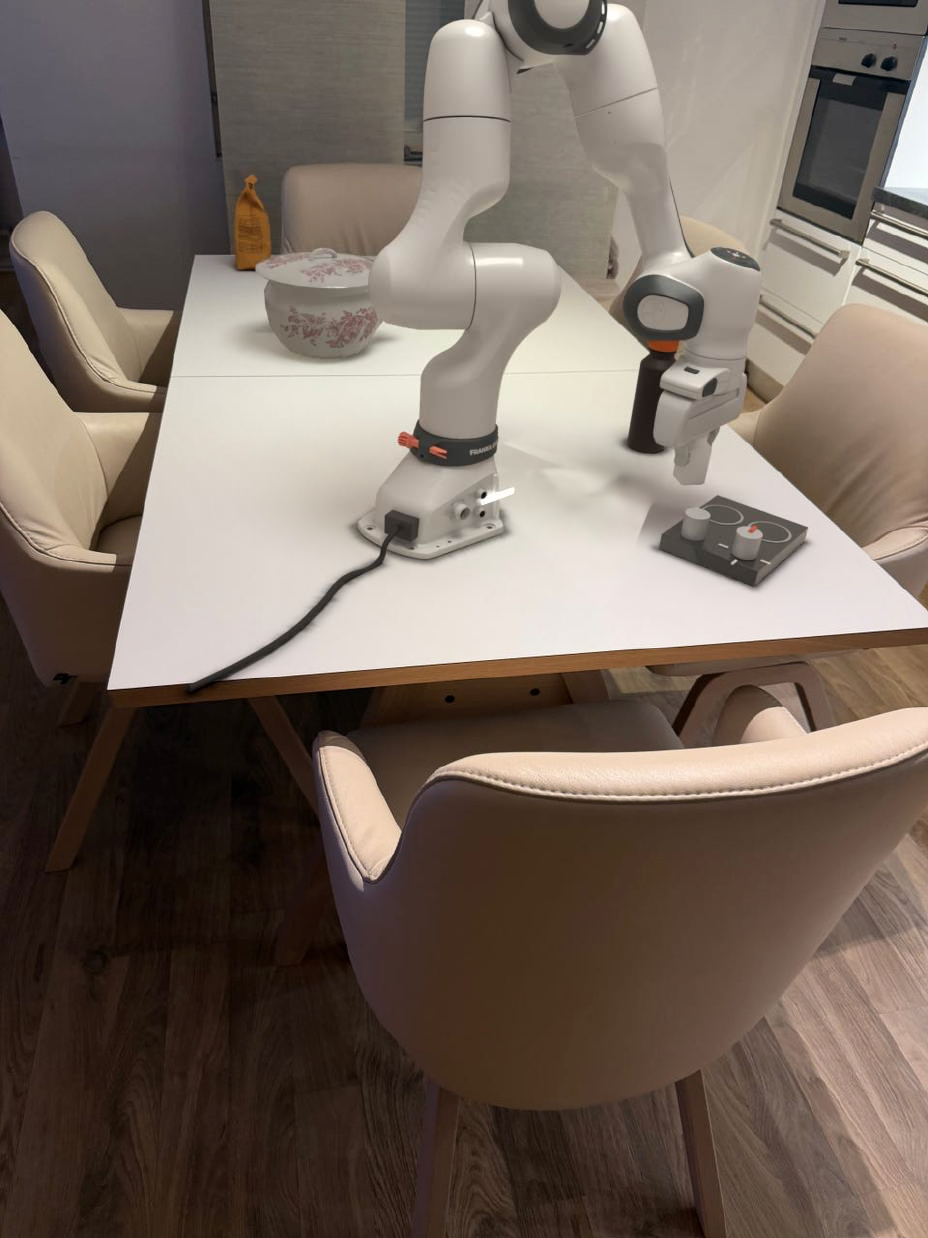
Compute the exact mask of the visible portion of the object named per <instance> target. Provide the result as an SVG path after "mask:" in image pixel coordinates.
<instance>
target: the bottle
mask: <svg viewBox="0 0 928 1238" xmlns="http://www.w3.org/2000/svg"><path fill="white" fill-rule="evenodd" d="M648 341H649V342H648V351H649V352H648V354H647V355H645V357H643V358H642V359H641V360H640V362H639V367H638V374H637V380H636V386H635V393H634V397H633V404H632V411H631V416H630V422H629V427H628V428H629V429H628V433H627V439H626V440H627V441H626V444H627V445H628V447H630V448H631V449H633V450H634V451H637V452H640V453H647V454H654V453H659V452H662V451H663V450H664V449H665V448H666V447H665V446H663V445H660V444H658V443H656V442H655V439H654V436H653V431H654V424H655V417H656V412H657V406H658V402H659V399H660V396H661V394H662V393H663V391H664V390H665V389H663V388H661V387H660V381H661V377H662V375H663V373H664V372H666V371H667V370H668V369H669V368H670V367H671V366H672V365H673V364H674V363H675V362H676V360H677V359H676V357H675V356H676V354H677V353H678V350H679V345H680V341H650V340H648Z"/></svg>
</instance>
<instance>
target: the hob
mask: <svg viewBox="0 0 928 1238" xmlns="http://www.w3.org/2000/svg"><path fill="white" fill-rule="evenodd" d="M708 505H723V506H727V507H731V508H733V509H735V510H737V511H739V512H740V513H741V514H742V515H743V517H744V519H743V521H742V522H741V523H739V524H736V525H722V524H717V523H714V522H711V521H709V525H708V529H707V533H706V537H705V539H704V540H701V541H693V540H689V539H686V538H684V537H683V536H682V535H681V528H682V524H683V519H684V518H683V519H680V521H678V522H676V523H675V524H673V526H671V527H670V528H668V529H667V530H665V531H663V532H662V533H661V537H660V541H659V545H658V549H659V550H661V551H664V552H667V553H668V554H670V555H675V556H676V557H679V558H681V559H684V560H686V561H689V562H692V563H694V564H696V565H699V566H701V567H704V568H706V569H709V570H712V571H713V572H716V573H719V574H721V575H723V576H726V577H729V578H732V579H733V580H736V581H739V582H742V583H743V584H746V585H748V586H751V587H755V586H757V585H758V584H759V583H760V582H761V581H762V580H763V579H764V578H765V577H766V576H768V575H769V574H770V573H771V572H772V571H773V570H774V569H775V568H777V567H778V566H779V565H780V564H781V563H783V562H784V561H785V560H786V559H787V558H788V557H789V556H790V555H791V554H792V553H794V552H795V551H796V550H797V549H798V548H799V547H800V546H802V544H804V543H805V540H806V537H807V534H808V531H809V527H808V526H806V525H803V524H800V523H797V522H795V521H792V520H789V519H786V518H784V517H780V516H778V515H775V514H773V513H770V512H766V511H764V510H761V509H758V508H755V507H752V506H749V505H747V504H744V503H741V502H738V501H736V500H733V499H730V498H727V497H724V496H721V495H719V494H717V495H715V496H713V497H712V498H711V499H709V500H708V501H707V502H705V503H704V504H702V505H701V506H699V508H700V509H702V508H703V507H705V506H708ZM753 522H771V523H775V524H778V525H780V526H783V527H784V528H786V529H787V530H789V532H790V533H791V539H790V540H789V541H787V542H783V543H771V542H765V541H762V540H761V544H760V548H759V552H758V555H757V558H756V559H754V560H742V559H739V558H736V557H735V556H733V555H732V553H731V550H732V546H733V542H734V538H735V534H736V530H737V529H738V528H739V527H743V526H748V525H749V524H751V523H753Z"/></svg>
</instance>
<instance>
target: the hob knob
mask: <svg viewBox="0 0 928 1238" xmlns="http://www.w3.org/2000/svg"><path fill="white" fill-rule="evenodd" d="M762 537H763V534H762V532H761V531H760V530H758V529H757V527H756V526H753V527H747V526H743V527H739V528H738V529H737V530H736V534H735V538H734V542H733V546H732V550H731V553H732V555H733V556H735V557H736V558H739V559H742V560H754V559H756V558H757V555H758V552H759V548H760V544H761V540H762Z"/></svg>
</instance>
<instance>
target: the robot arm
mask: <svg viewBox="0 0 928 1238" xmlns="http://www.w3.org/2000/svg"><path fill="white" fill-rule="evenodd" d="M548 64H550V66H552V67H553V68H554V69H555V70H556V71H557V73H558V74H560V76H561V78H562V79H563V82H564V83H565V86H566V88H567V90H568V91H569V96H570V103H571V106H572V107H571V108H572V113H573V117H574V121H575V124H576V125H575V126H576V129H577V133H578V137H579V140H580V142H581V145H582V147H583V150H584V153H585V155H586V158H587V160H588V163H589V164H590V166H591V168H592V169H593V170H594V171H595V173H598V174H599V176H601V177H603V178H604V179H606V180H608V181H609V182H611V183H612V184H613V185H614V186H615V187H616V188H617V189H618V190H619V191H620V193H622V195H623V197H624V199H625V201H626V203H627V206H628V208H629V211H630V214H631V218H632V222H633V227H634V229H635V234H636V237H637V240H638V245H639V248H640V251H641V258H642V265H641V270H640V274H639V275H638V276H637V277H636V278H635V279H634V280H633V282H632V283H631V284H630V286H629V287H628V288H627V290H626V291H625V293H624V297H623V300H622V315H623V319H624V321H625V324H626V326H627V327H628V328H629V330H630V331H631V332H632V333H633V334H634V335H635V336H637V337H639V338H640V339H643V340H646V341H679V342H682V341H684V344H683V349H682V354H680V355H679V356H678V358H677V359H676V362H675V363H674V364H673V365H672V366H671V367H670V368H669V369H668V370H667V371H666V372H664V373H663V375H662V377H661V381H660V387H661V388H663V389H665V390H664V391H663V393H662V394H661V396H660V399H659V402H658V406H657V412H656V417H655V424H654V431H653V436H654V439H655V442H656V443H658V444H660V445H663V446H665V448H668V449H672V450H674V454H675V455H674V459H673V464H674V465H677V466H680V467H683V466H685V465H687V464H688V463H689V459H690V456H691V454H688V447H689V446H690V444H691V441H692V440H694V439H696V438H698V437H700V436H702V435H704V434H706V433H708V432H710V433H709V436H708V439H707V442H708V443H709V444H710V446H711V447H713V443H714V442H715V440H716V438H717V437H718V435H719V434H720V429H721V427H723V426H725V425H727V424H728V423H731V422H733V421H735V420H737V419H739V417H740V415H741V413H742V411H743V409H744V405H745V404H744V403H745V398H746V393H747V384H748V376H747V374H746V373H745V369H746V361H747V357H748V351H749V350H748V349H749V348H748V347H749V346H748V340H749V336H750V333H751V331H752V330H753V328H754V325H755V322H756V318H757V313H758V309H759V304H760V298H761V293H762V292H761V291H762V278H763V277H762V275H763V273H762V270H761V267H760V265H759V264H758V262H757V261H756V259H754V258H753V257H752V256H750V255H749V254H746V253H744V252H742V251H740V250H737V249H734V248H730V247H722V246H717V247H711V248H710V249H708V250H707V251H705V252H703V253H701V254H699V255H697V256H696V255H695V253H693V252H692V250H691V248H690V247H689V245H688V243H687V240H686V238H685V234H684V230H683V227H682V223H681V219H680V214H679V211H678V206H677V203H676V198H675V194H674V191H673V186H672V182H671V178H670V173H669V164H668V155H667V144H666V142H667V141H666V131H665V130H666V129H665V119H664V113H663V106H662V101H661V95H660V90H659V88H658V81H657V77H656V72H655V69H654V65H653V62H652V58H651V55H650V51H649V48H648V46H647V43H646V40H645V37H644V34H643V32H642V30H641V27H640V25H639V23H638V20H637V17H636V15H635V14H634V13H633V11H632V10H631V9H629V8H628V7H626V6H625V5H622V4H618V3H608V0H479V2H478V4H477V6H476V8H475V10H474V12H473V14H472V17H471V18H470V19H467V18H466V19H465V18H464V19H459V20H454V21H452V22H449V23H447V24H445V25H444V26H441V28H439V29H438V31H436V33H435V34H434V36H433V37H432V40H431V42H430V45H429V51H428V57H427V61H426V70H425V77H424V87H423V102H422V103H423V104H422V160H421V161H422V163H421V178H420V185H419V186H420V188H419V192H418V197H417V201H416V203H415V205H414V209H413V211H412V213H411V215H410V217H409V219H408V221H407V223H406V224H405V225H404V227H403V229H401V231H400V232H399V233H398V235H396V237H394V239H392V241H390V242H389V243H388V244H386V246H384V247H383V248H382V249H381V250H380V251H379V252H378V254H377V255H376V256H375V258H374V259H373V260H374V262H373V264H372V266H371V269H370V272H369V278H368V291H369V296H370V300H371V303H372V305H373V307H374V309H375V311H376V312H377V314H378V315H379V317H380V318H381V319H382V320H383V323H385V324H388V325H393V326H396V327H400V328H406V329H412V330H417V331H429V330H430V331H444V330H445V331H446V330H447V331H451V330H453V331H454V330H456V331H457V330H458V331H459V330H464V331H463V332H462V334H461V336H460V337H459V339H458V340H457V341H456V342H455V344H453V345H452V346H451V347H449V348H447V349H445V350H443V351H440V353H438V354H436V355H434V356H433V357H432V358H431V359H430V360H429V361H427V363H426V365H425V366H424V368H423V370H422V372H421V375H420V384H419V385H420V386H419V387H420V388H419V413H418V419H417V421H415V422H416V423H415V426H414V428H413V432H412V434H410V433H408V432H406V431H401V432H400V433H398V435H399V436H397V440H396V441H397V444H398V445H399V446H401V447H406V449H408V452H407V453H406V455H405V456H404V457H403V458H402V460H400V462H399V463H398V464H397V465H396V467H395V468H394V469H393V471H392V472H391V473H390V474H389V475H388V476H387V478H386V479H385V481H383V483H382V484H381V485H380V486H379V488H378V490H377V492H376V497H375V504H374V509H373V510H371V511H370V512H368V513H367V514H366V515H364V516H363V517H361V518H360V519H359V520H358V521H357V529H358V531H359V532H360V534H361V535H363V536H364V537H365V538H366V539H367V540H368V541H370V542H372V543H374V544H375V545H378V546H380V551H379V555H378V557H377V558H376V559H375V560H374V561H373V562H372V563H370V565H367V566H365V567H363V568H359V569H356V570H352V571H349V572H347V573H346V574H344V575H342V576H341V577H339V578H338V579H337V580H336V581H335V582H334V583H333V584H332V585H331V586H330V588H329V589H328V590H327V591H326V593H325V594H324V596H323V597H322V598H321V599H320V600H319V601H318V602H317V603H316V604H315V605H314V607H312V609H311V610H309V611H308V613H306V615H304V616H303V617H302V618H301V619H300V620H299V621H298V622H297V623H295V624H294V625H293V626H292V627H290V628H289V629H288V630H287V631H286V632H284V633H283V634H282V635H280V636H279V637H277V638H275V639H274V640H272V641H271V642H270V643H268V644H266V645H265V646H263V647H261V648H259V649H258V650H256V651H254V652H252V653H251V654H249V655H246V656H245V657H244V658H242V659H240V660H238V661H235V662H234V663H232V664H230V665H228V666H226V667H224V668H222V669H219V670H217V671H215V672H213V673H211V674H209V675H207V676H205V677H202V678H200V679H198V680H197V681H194V682H192V683H190V684H188V685H187V689H188V691H189V692H194V691H196V690H198V689H200V688H203V687H204V686H206V685H208V684H211V683H213V682H215V681H216V680H219V679H221V678H223V677H225V676H227V675H229V674H231V673H233V672H235V671H238V670H239V669H241V668H243V667H245V666H246V665H248V664H250V663H252V662H254V661H256V660H257V659H259V658H261V657H263V656H264V655H266V654H268V653H270V652H272V651H273V650H274V649H276V648H277V647H279V646H280V645H282V644H283V643H285V642H286V641H288V640H289V639H291V637H293V636H294V635H296V633H298V632H299V631H301V629H302V628H304V627H305V626H306V625H307V624H308V623H309V622H310V621H311V620H312V619H313V618H314V617H315V616H316V615H317V614H318V613H319V612H320V611H321V610H322V609H323V608H324V607H325V605H326V604H327V603H328V602H329V601H330V599H331V598H332V597H333V595H334V594H335V593H336V592H337V590H338V589H339V588H341V586H342V585H343V584H345V583H346V582H347V581H349V580H351V579H352V578H355V577H359V576H362V575H364V574H366V573H369V572H370V571H372V570H374V569H376V568H378V567H379V566H380V565H381V564H382V563H383V562H384V560H385V558H386V555H387V550H388V551H390V552H393V553H396V554H398V555H402V556H406V557H408V558H412V559H413V558H415V559H419V560H431V559H434V558H436V557H439V556H442V555H446V554H447V553H450V552H453V551H457V550H459V549H461V548H465V547H468V546H470V545H473V544H476V543H479V542H481V541H484V540H486V539H489V538H492V537H495V536H497V535H501V534H503V533H504V523H503V521H502V519H501V518H500V499H502V498H505V497H507V496H511V495H513V494H514V493H515V488H514V487H510V488H508V489H505V490H502V491H500V479H499V474H498V470H497V466H496V460H495V455H496V453H497V451H498V443H499V439H500V438H499V425H498V424H497V416H498V408H499V407H498V406H499V399H500V393H501V387H502V383H503V378H504V374H505V372H506V368H507V366H508V364H509V362H510V360H511V358H512V357H513V355H514V353H515V352H516V351H517V349H518V348H519V346H520V345H521V344H522V343H523V341H524V340H525V339H526V338H527V337H528V336H529V335H530V334H531V333H532V332H533V331H535V330H536V329H537V328H539V327H541V325H544V323H546V322H547V321H548V320H549V319H550V318H551V316H553V314H554V312H555V310H556V309H557V306H558V304H559V302H560V298H561V293H562V277H561V273H560V269H559V266H558V265H557V263H556V260H555V259H554V258H553V256H552V255H551V254H550V252H549V251H547V250H545V249H542V248H538V247H536V246H535V247H534V246H530V245H526V244H521V243H517V242H482V241H481V242H475V241H469V242H468V241H467V240H464V233H465V229H466V225H467V223H468V222H469V220H470V219H472V218H473V217H475V216H477V215H479V214H481V213H483V212H485V211H486V210H488V209H490V208H491V207H494V206H495V205H496V204H498V203H499V202H500V201H501V200H502V199H503V197H504V196H505V194H506V193H507V190H508V188H509V185H510V180H511V179H510V178H511V177H510V176H511V134H512V133H511V131H512V107H511V105H512V102H511V95H512V92H513V85H514V82H515V78H516V76H517V75H519V74H523V73H525V72H528V71H530V70H533V68H535V67H541V66H544V65H548Z"/></svg>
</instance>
